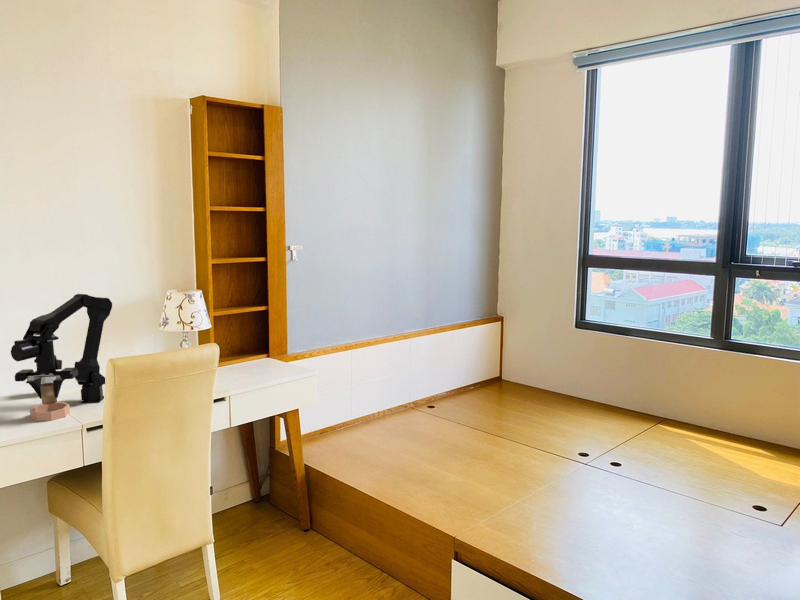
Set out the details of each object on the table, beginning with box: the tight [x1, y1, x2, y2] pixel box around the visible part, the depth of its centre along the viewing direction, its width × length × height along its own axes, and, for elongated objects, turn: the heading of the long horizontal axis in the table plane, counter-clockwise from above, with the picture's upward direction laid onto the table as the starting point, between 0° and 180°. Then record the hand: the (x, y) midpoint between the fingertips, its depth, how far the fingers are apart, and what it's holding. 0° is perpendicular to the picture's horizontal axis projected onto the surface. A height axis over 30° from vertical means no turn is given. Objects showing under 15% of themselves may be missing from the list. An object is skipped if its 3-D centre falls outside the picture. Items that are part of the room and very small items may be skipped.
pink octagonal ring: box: [29, 401, 71, 422], centre depth 220 cm, size 11×11×3 cm
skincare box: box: [41, 374, 56, 384], centre depth 246 cm, size 6×4×12 cm
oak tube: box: [40, 383, 58, 405], centre depth 220 cm, size 5×5×7 cm
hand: (49, 398), depth 220 cm, fingers closed on oak tube, 5 cm apart
